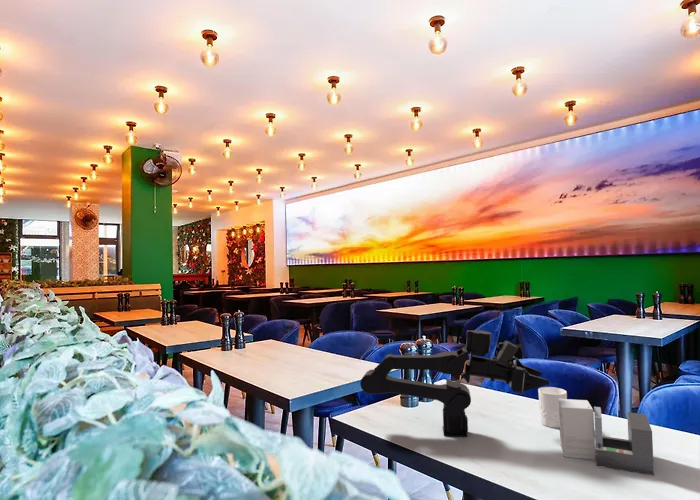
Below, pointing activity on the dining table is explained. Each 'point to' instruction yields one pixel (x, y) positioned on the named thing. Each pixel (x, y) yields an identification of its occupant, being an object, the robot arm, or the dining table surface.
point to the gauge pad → (598, 427)
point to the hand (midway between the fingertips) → (545, 378)
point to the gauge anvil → (629, 448)
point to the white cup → (550, 405)
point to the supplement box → (577, 428)
